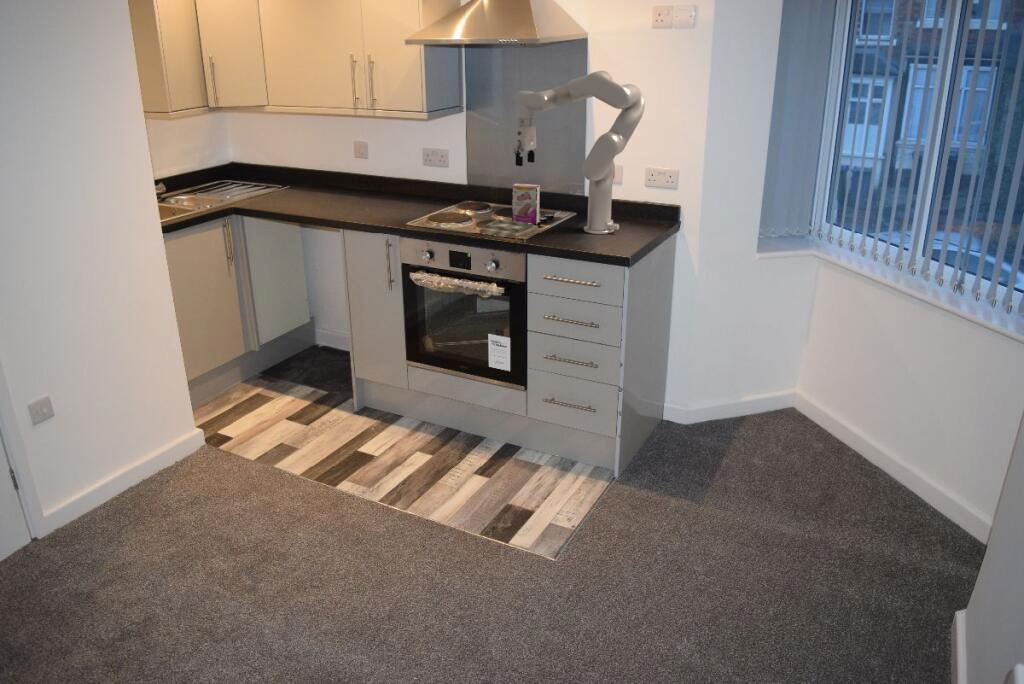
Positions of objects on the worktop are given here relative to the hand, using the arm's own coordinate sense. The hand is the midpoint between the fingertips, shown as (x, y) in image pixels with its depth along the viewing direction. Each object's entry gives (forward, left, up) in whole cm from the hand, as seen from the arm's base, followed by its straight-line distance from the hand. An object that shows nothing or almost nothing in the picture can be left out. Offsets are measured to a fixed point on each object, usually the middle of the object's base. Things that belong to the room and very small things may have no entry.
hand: (525, 164), depth 344 cm
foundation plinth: (-2, +17, -25) cm, 30 cm away
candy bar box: (0, 0, -25) cm, 25 cm away
